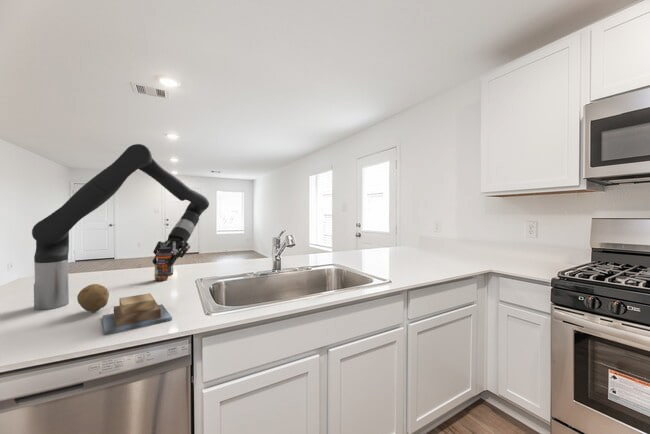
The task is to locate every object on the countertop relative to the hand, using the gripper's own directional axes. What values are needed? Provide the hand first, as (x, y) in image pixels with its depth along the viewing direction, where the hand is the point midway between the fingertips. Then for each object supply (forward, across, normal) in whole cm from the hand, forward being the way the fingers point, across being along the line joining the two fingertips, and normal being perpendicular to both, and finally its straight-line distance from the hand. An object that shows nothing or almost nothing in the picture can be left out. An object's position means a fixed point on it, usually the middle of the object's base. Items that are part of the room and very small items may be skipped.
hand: (161, 264), depth 110 cm
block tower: (+22, +3, 0) cm, 22 cm away
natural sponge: (+20, -18, +3) cm, 27 cm away
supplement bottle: (+2, 0, +5) cm, 5 cm away
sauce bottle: (-11, -26, +34) cm, 45 cm away
